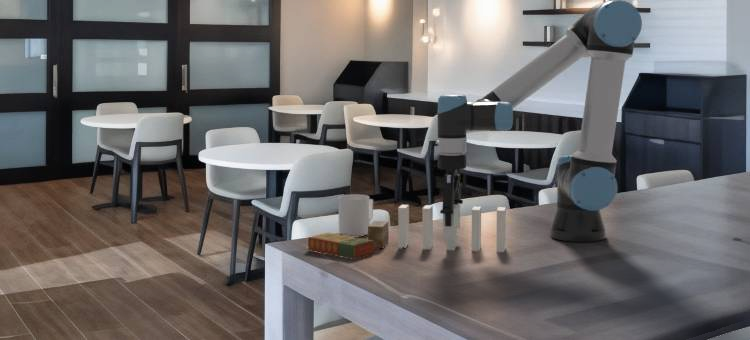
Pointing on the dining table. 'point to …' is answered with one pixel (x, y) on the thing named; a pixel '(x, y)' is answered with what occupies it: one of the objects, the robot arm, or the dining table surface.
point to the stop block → (378, 233)
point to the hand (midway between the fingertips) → (451, 233)
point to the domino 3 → (452, 242)
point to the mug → (354, 214)
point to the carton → (341, 245)
